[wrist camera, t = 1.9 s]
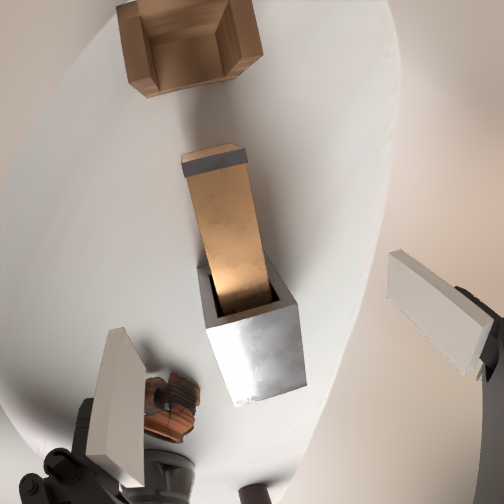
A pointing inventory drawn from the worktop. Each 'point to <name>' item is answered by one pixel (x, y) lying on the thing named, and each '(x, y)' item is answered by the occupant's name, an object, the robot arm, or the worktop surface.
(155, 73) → the brown wooden box
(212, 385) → the worktop surface
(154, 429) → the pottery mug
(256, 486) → the bottle
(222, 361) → the sleeve
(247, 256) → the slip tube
